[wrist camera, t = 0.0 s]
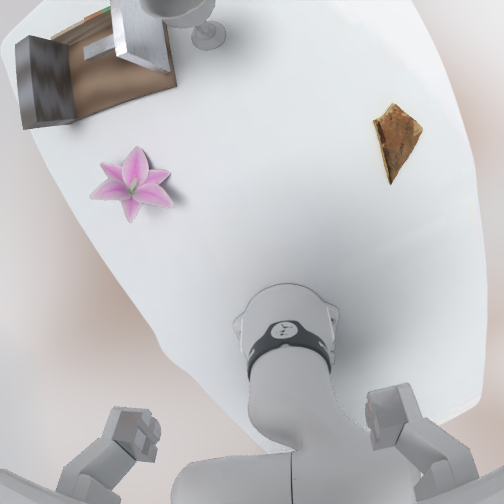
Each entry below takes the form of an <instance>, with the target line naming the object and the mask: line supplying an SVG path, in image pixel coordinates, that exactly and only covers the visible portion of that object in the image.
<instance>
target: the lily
mask: <svg viewBox="0 0 504 504" xmlns="http://www.w3.org/2000/svg"><path fill="white" fill-rule="evenodd" d="M100 166H101V167H102V169H103V171H104V172H105V174H106V175H107V176H108V178H109V179H108V180H106V181H104V182H103V183H102V184H101V185H99V186H98V187H97V188H96V189H95V190H94V191H93V192H92V193H91V195H90V199H92V200H121V204H122V207H123V210H124V213H125V216H126V218H127V220H128V222H129V223H132V222H133V220H134V219H135V217H136V216H137V214H138V212H139V210H140V208H141V206H142V203H145V204H151V205H156V206H160V207H165V208H171V209H172V208H174V204H173V202H172V200H171V198H170V197H169V195H168V194H167V193H166V192H165V190H164V189H163V188H162V187H161V186H159V184H160V183H161V182H163V181H164V180H165V179H166V178H167V177H168V176H169V175H170V172H169V171H165V170H149V166H148V162H147V159H146V156H145V154H144V152H143V150H142V148H140V147H139V146H137V147H135V148H134V149H133V150H132V151H131V153H130V154H129V155H128V156H127V158H126V160H125V161H124V163H123V166H119V165H116V164H112V163H104V162H102V163H100Z"/></svg>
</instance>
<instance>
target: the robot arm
mask: <svg viewBox="0 0 504 504" xmlns="http://www.w3.org/2000/svg"><path fill="white" fill-rule="evenodd" d="M338 317H339V311H338V309H337V308H336V307H335V306H333V305H330V304H328V303H325V302H324V301H323V300H321V298H320V297H319V296H318V295H317V294H315V293H314V292H313V291H311V290H309V289H308V288H305V287H303V286H299V285H294V284H281V285H276V286H272V287H269V288H267V289H265V290H263V291H261V292H260V293H258V294H257V295H256V296H255V297H254V298H253V299H252V300H251V302H250V303H249V305H248V306H247V308H246V310H245V312H244V313H243V314H242V315H241V316H239V317H238V318H237V319H236V320H235V321H234V322H233V329H234V331H235V333H236V335H237V337H238V339H239V341H240V351H241V352H242V353H243V354H244V356H245V358H246V360H247V361H248V362H247V372H248V379H249V381H250V387H249V401H248V415H249V418H250V421H251V423H252V424H253V426H254V427H255V428H256V429H257V430H258V431H259V432H260V433H261V434H262V435H263V436H265V437H266V438H268V439H270V440H272V441H274V442H277V443H279V444H282V445H285V446H288V447H291V448H293V449H294V450H296V451H293V452H291V453H280V454H266V455H244V456H243V455H242V456H241V455H240V456H226V457H221V458H214V459H208V460H203V461H197V462H192V463H189V464H188V465H187V466H186V467H184V469H183V470H182V471H181V472H180V473H179V474H178V476H177V478H176V479H175V481H174V484H173V487H172V490H171V504H504V466H502V467H500V468H498V469H496V470H494V471H492V472H490V473H488V474H486V475H484V476H482V477H480V478H479V475H478V472H477V469H476V466H475V463H474V460H473V457H472V454H471V451H470V449H469V448H468V447H467V446H465V445H464V444H463V443H461V442H460V441H458V440H457V439H455V438H454V437H453V436H451V435H450V434H448V433H447V432H446V431H444V430H443V429H441V428H440V427H439V426H437V425H436V424H435V423H433V422H432V421H430V420H429V419H428V418H422V415H421V412H420V409H419V406H418V404H417V401H416V398H415V396H414V393H413V390H412V388H411V385H410V384H409V383H403V384H400V385H396V386H391V387H387V388H382V389H378V390H374V391H370V392H368V395H367V398H368V402H367V403H366V408H365V413H366V421H367V426H368V427H369V428H371V433H370V432H368V431H366V430H364V429H363V428H361V427H360V426H358V425H357V424H356V423H355V422H353V421H352V420H351V419H350V418H349V417H348V416H347V415H346V414H345V413H344V411H343V410H342V409H341V407H340V406H339V404H338V401H337V399H336V396H335V393H334V389H333V386H332V382H331V378H330V373H331V365H333V364H334V362H335V355H334V353H333V352H331V351H334V350H335V343H333V342H334V340H335V338H334V337H335V332H336V327H337V322H338ZM331 318H333V319H332V320H331ZM240 330H241V331H240ZM151 415H152V413H151V412H150V410H149V409H141V408H127V407H116V406H114V407H113V408H112V409H111V412H110V415H109V417H108V420H107V423H106V426H105V428H104V431H103V434H102V437H101V438H98V439H97V440H95V441H94V442H93V443H92V444H91V445H90V446H88V447H87V448H86V449H85V450H84V451H82V452H81V453H80V454H79V455H78V456H77V457H75V458H74V459H73V460H72V461H71V462H69V463H68V464H67V465H66V466H65V467H64V468H63V471H62V474H61V477H60V479H59V482H58V485H57V488H56V491H52V490H50V489H47V488H45V487H42V486H40V485H37V484H35V483H33V482H31V481H29V480H27V479H24V478H22V477H20V476H18V475H16V474H14V473H12V472H10V471H8V470H5V469H0V504H120V502H121V498H120V496H119V495H117V494H115V493H114V492H112V489H113V488H114V487H115V486H116V485H117V484H118V483H119V482H120V480H121V479H122V478H123V477H124V476H125V475H126V474H127V472H128V471H129V470H130V469H131V468H132V466H134V464H135V463H136V461H142V462H153V463H154V462H155V458H156V454H157V447H156V445H155V444H156V443H157V442H158V441H159V440H160V436H161V427H160V424H159V422H158V421H157V419H155V418H153V417H151ZM420 472H422V473H423V474H424V475H423V476H422V478H421V474H420ZM416 502H417V503H416Z"/></svg>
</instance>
